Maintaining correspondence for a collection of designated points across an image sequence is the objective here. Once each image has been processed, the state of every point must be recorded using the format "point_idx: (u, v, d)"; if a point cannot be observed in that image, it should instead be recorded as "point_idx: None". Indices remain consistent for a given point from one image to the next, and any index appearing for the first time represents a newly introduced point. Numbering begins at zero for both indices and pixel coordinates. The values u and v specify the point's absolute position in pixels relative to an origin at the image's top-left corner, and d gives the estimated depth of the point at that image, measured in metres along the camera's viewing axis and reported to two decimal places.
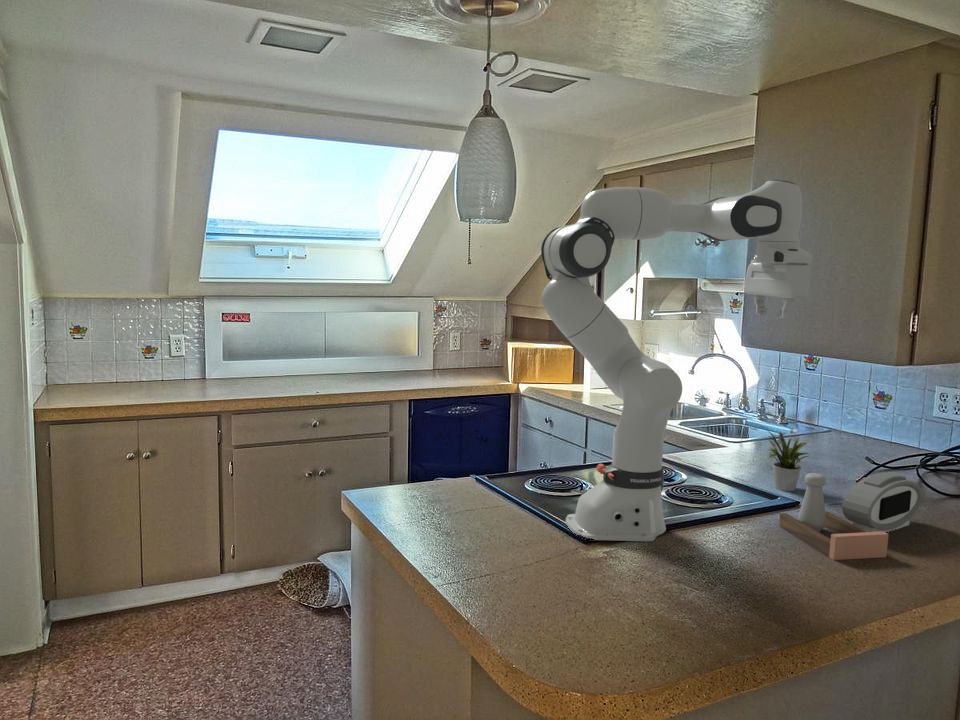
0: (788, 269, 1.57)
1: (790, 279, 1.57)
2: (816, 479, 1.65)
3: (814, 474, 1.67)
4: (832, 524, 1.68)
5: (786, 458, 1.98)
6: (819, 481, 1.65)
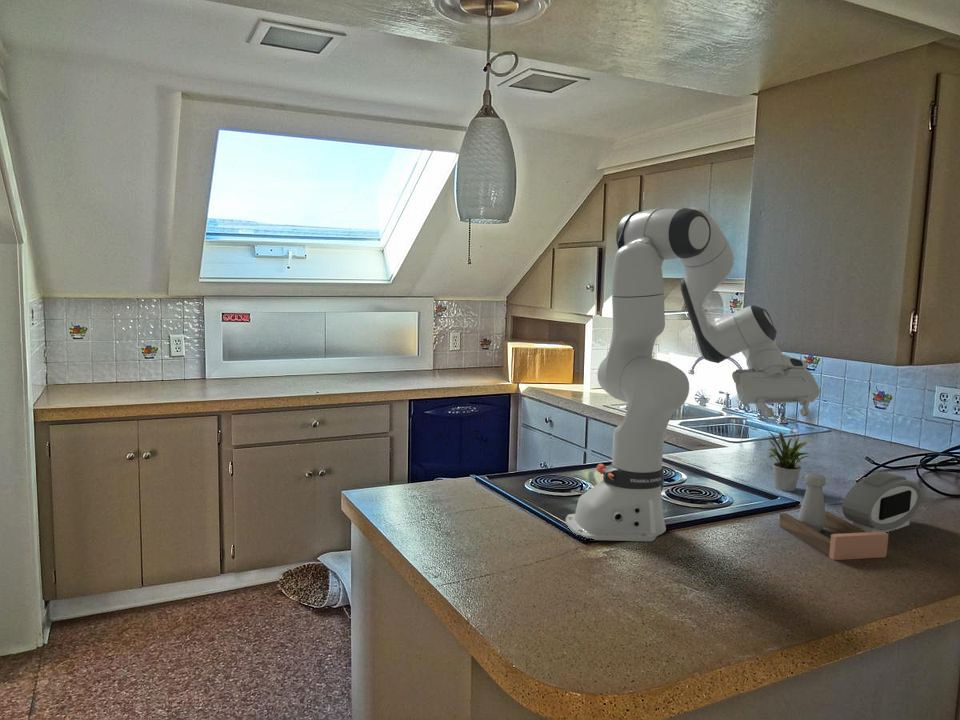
0: (808, 372, 1.83)
1: (813, 379, 1.82)
2: (816, 479, 1.65)
3: (814, 474, 1.67)
4: (832, 524, 1.68)
5: (786, 458, 1.98)
6: (819, 481, 1.65)
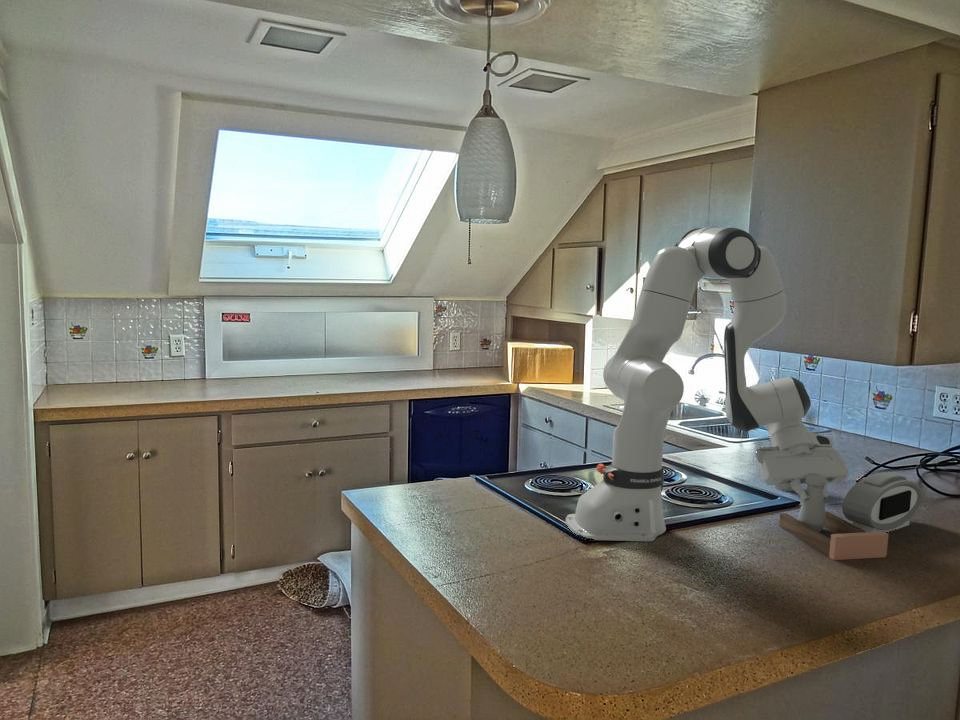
0: (835, 451, 1.73)
1: (841, 459, 1.72)
2: (816, 479, 1.65)
3: (814, 474, 1.67)
4: (832, 524, 1.68)
5: None
6: (819, 481, 1.65)
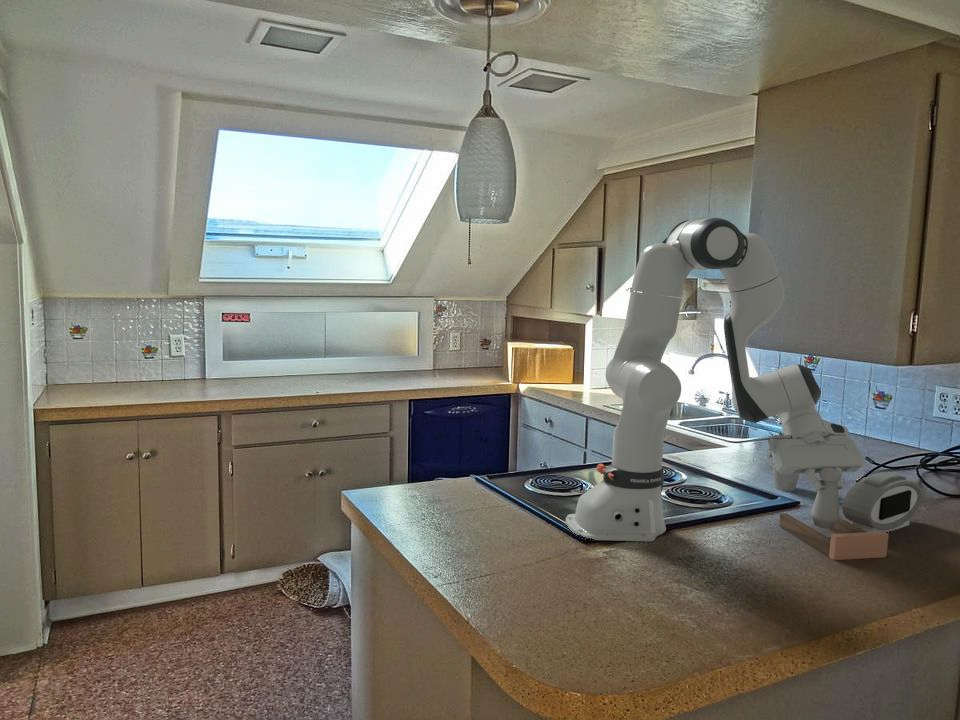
0: (850, 440, 1.68)
1: (856, 448, 1.67)
2: (832, 475, 1.60)
3: (829, 469, 1.62)
4: None
5: None
6: (835, 477, 1.60)
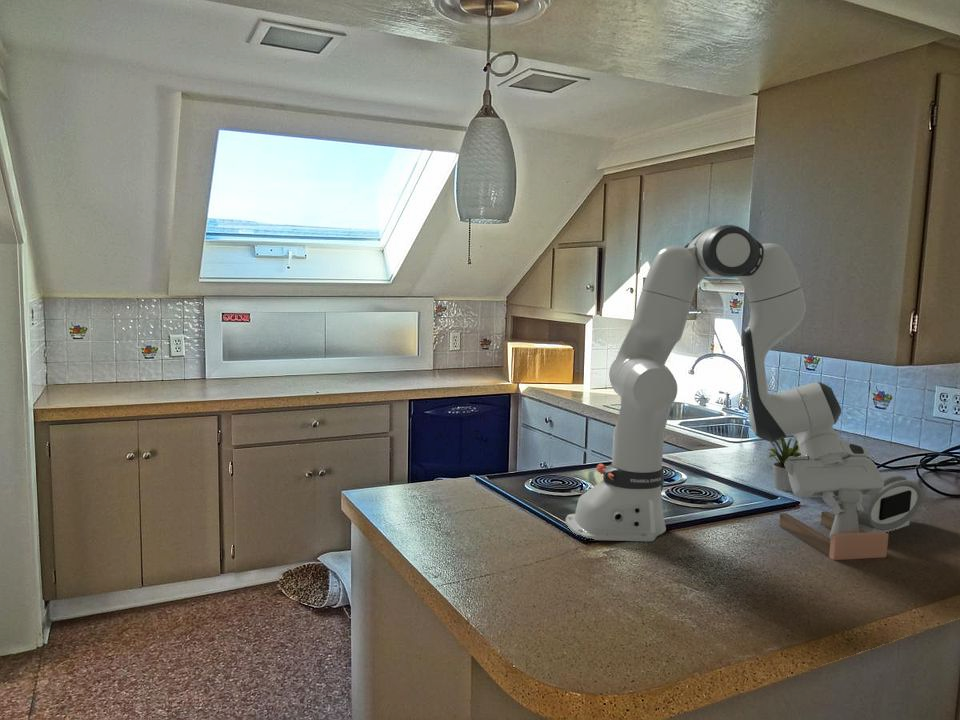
0: (870, 461, 1.62)
1: (876, 469, 1.61)
2: (851, 496, 1.54)
3: (848, 490, 1.56)
4: (832, 524, 1.68)
5: (786, 458, 1.98)
6: (854, 498, 1.54)
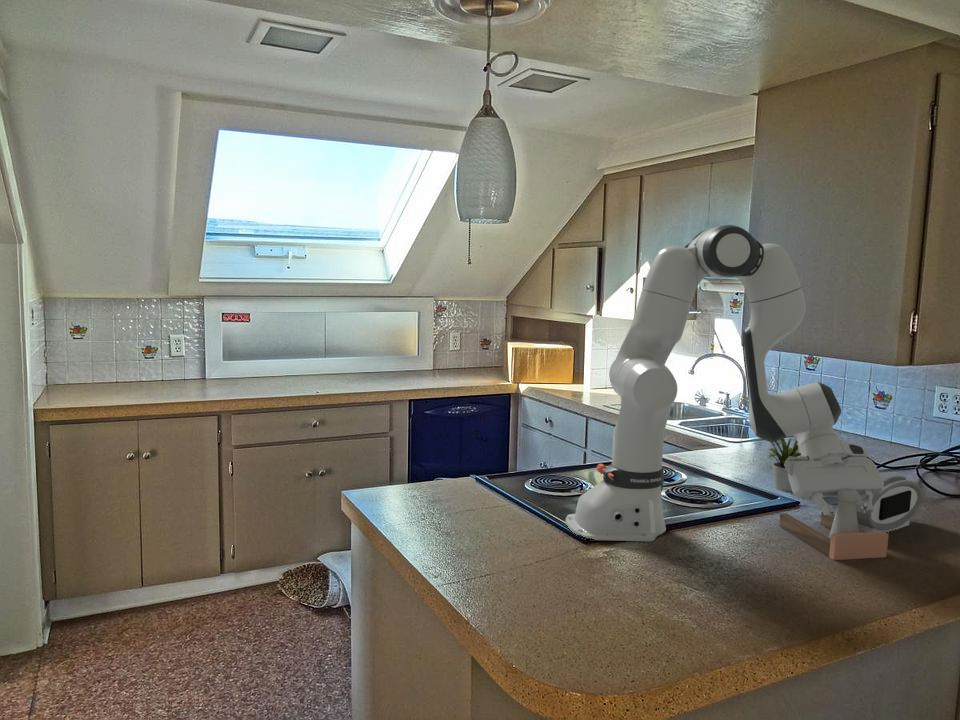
0: (870, 461, 1.62)
1: (876, 470, 1.61)
2: (850, 495, 1.54)
3: (847, 489, 1.56)
4: None
5: (786, 458, 1.98)
6: (853, 497, 1.54)
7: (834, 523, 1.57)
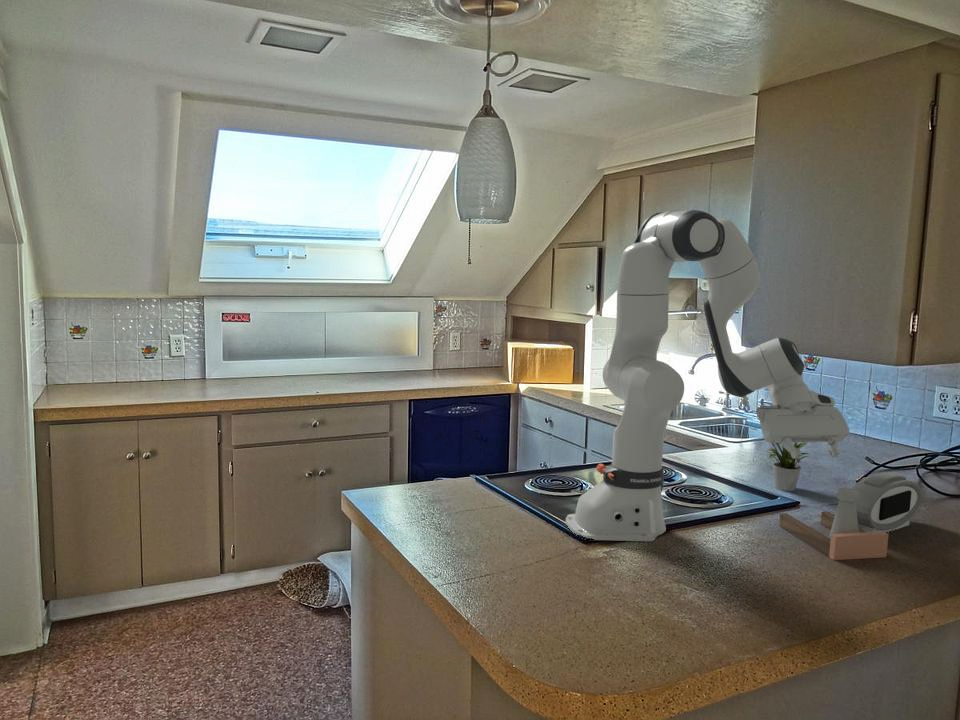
0: (837, 410, 1.72)
1: (842, 418, 1.72)
2: (850, 495, 1.54)
3: (847, 489, 1.56)
4: (832, 524, 1.68)
5: (786, 458, 1.98)
6: (854, 497, 1.54)
7: (834, 523, 1.57)
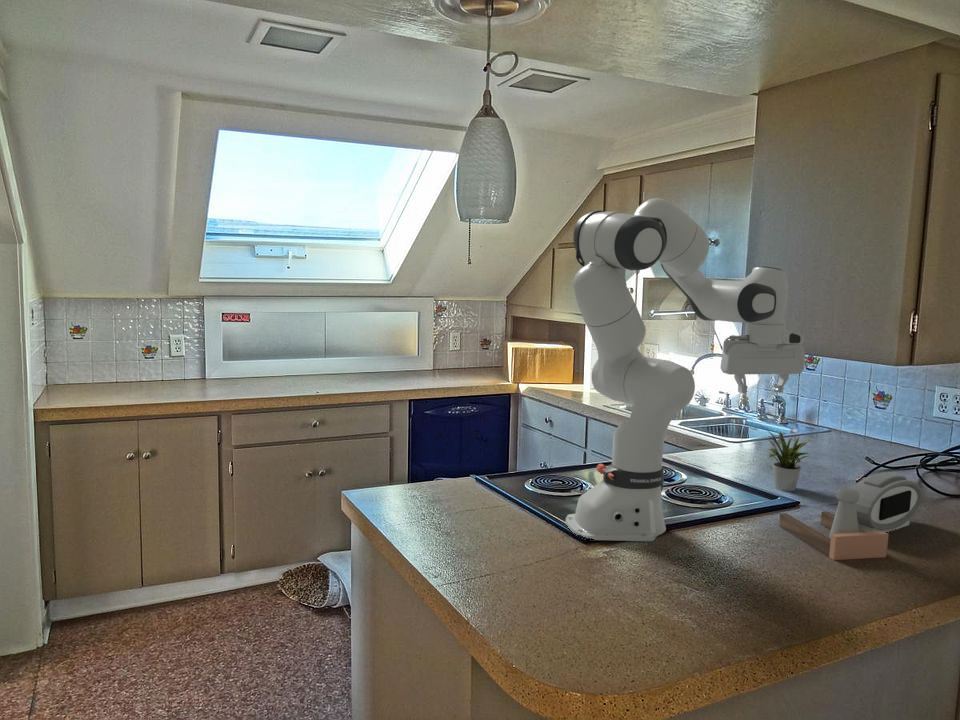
0: (801, 349, 1.76)
1: (803, 357, 1.76)
2: (850, 495, 1.54)
3: (847, 489, 1.56)
4: None
5: (786, 458, 1.98)
6: (854, 497, 1.54)
7: (834, 523, 1.57)
